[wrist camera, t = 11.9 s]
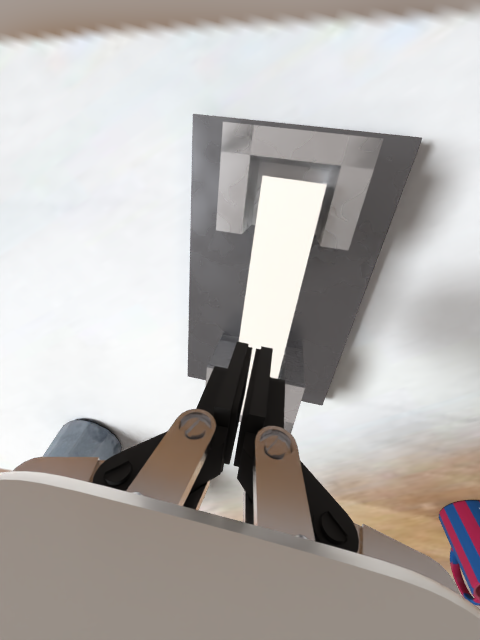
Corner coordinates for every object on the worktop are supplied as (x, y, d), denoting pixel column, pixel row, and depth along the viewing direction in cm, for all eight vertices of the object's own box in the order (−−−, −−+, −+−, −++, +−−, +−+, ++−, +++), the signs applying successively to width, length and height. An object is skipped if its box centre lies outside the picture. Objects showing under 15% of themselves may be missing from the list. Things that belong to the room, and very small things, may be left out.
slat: (317, 184, 16) (326, 184, 12) (271, 377, 24) (267, 420, 20) (270, 178, 16) (262, 175, 12) (240, 371, 24) (228, 411, 20)
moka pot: (127, 476, 41) (4, 691, 24) (38, 428, 39) (-166, 622, 22) (148, 448, 36) (16, 690, 19) (49, 392, 35) (-197, 602, 17)
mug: (520, 512, 29) (578, 596, 23) (460, 547, 34) (495, 624, 28) (462, 492, 29) (505, 570, 23) (411, 530, 34) (435, 602, 28)
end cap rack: (413, 140, 16) (474, 118, 11) (321, 396, 27) (328, 450, 21) (198, 118, 18) (157, 88, 12) (191, 369, 28) (167, 412, 23)
